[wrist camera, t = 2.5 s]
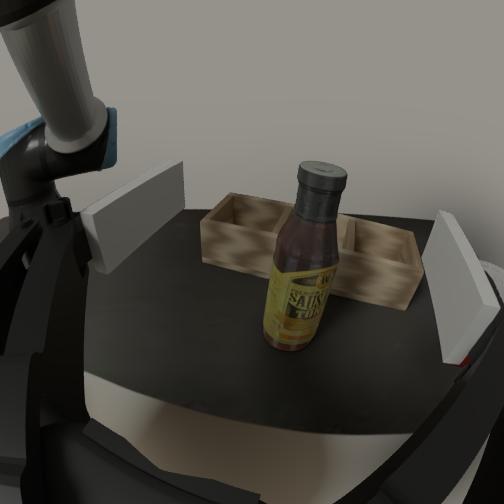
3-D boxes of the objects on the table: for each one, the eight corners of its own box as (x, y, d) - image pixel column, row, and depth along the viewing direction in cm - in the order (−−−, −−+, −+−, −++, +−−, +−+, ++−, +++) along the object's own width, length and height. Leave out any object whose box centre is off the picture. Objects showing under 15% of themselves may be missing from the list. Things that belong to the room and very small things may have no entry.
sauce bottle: (278, 362, 30) (311, 186, 18) (252, 324, 34) (264, 158, 23) (326, 341, 32) (374, 179, 21) (297, 307, 37) (325, 154, 25)
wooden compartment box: (202, 261, 44) (200, 221, 40) (229, 228, 52) (230, 192, 48) (405, 310, 36) (424, 272, 32) (399, 266, 45) (412, 232, 41)
